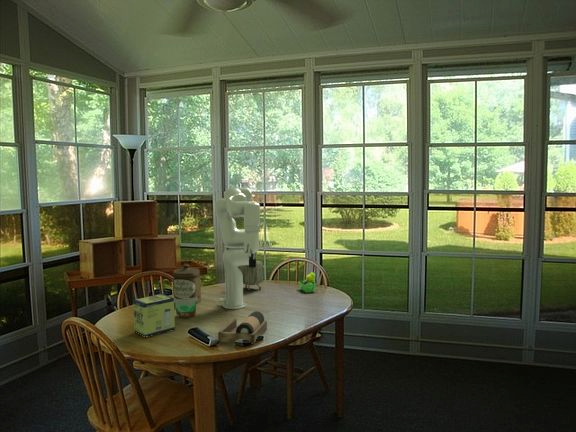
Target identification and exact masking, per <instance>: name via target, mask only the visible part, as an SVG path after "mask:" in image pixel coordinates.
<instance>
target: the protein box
mask: <svg viewBox="0 0 576 432" xmlns="http://www.w3.org/2000/svg"><path fill="white" fill-rule="evenodd" d="M132 306H133V307H132V308H133V310H132V311H133V328H134V331H135V332H137V333H139V334H141V335H143V336H145V337H146V336H151V335H155V334H158V333H162V334H164V333H163V332H166V333H168V332H167V331H170V330H173V331H176V327H175V326H176V322H175V321H176V320H175V303H174V297H173V296H172V297H171V296H169V295H167V294H163V293H160V294H156V295H151V296H150V295H149V296H146V297H141V298H136V299H132ZM170 332H171V331H170ZM158 335H159V334H158ZM155 336H156V335H155ZM151 337H152V336H151Z"/></svg>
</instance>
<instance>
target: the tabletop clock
mask: <svg viewBox="0 0 576 432" xmlns="http://www.w3.org/2000/svg"><path fill="white" fill-rule="evenodd" d="M238 268H239V270H240V271H241V272H242V275H243V285H244V287H245V288H246V289H247V291H250V290H251V288H250V286H255V285H256V286H257V287H258V290H261V289H262V287H261V286H260V285H259V284H261V283H264V278H265V277H264V276H265V268H264V264H263V262H262V261H260V260H257V259H256V267H255V268H253V267H249V265H243V266H238Z"/></svg>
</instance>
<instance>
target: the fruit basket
mask: <svg viewBox="0 0 576 432" xmlns="http://www.w3.org/2000/svg"><path fill="white" fill-rule="evenodd" d="M305 278H306V279H304V280H299V281H298V283H299V285H300V289H301V290H302V291H303V292H305V293H314V292H315V289H316V285H317V283H316V282H315V279H316V274H315V272H314V271H311V272H310V273H309V274H308V275H306V277H305Z"/></svg>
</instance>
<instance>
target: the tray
mask: <svg viewBox="0 0 576 432" xmlns="http://www.w3.org/2000/svg"><path fill="white" fill-rule="evenodd" d="M237 323H238V322H237V318H233V319H232V320H231V321H230V322H229V323H228V324H226V325H225V326H224V327H223V328H222V329H221V330H219V331H218V332H217V336H218V337H217V340H218V341H219V342H220V343H233V344H235V343H234V342H235V341H236V340H239V339H246V340H248V341H249V342H251V344H250V345H255V344H256V343H255V342H257V341H256V339H257V337H258V336H260V335H262V336H263V334H264V333H265V332H266V331H267V329H268V320H264V321H263V323H262V324H261V325H260V326H259V327H258V328H257V329H256V330H255V331H254V332H253V333H252V334H245V333H236V329H237V327H238V326H239V325H238V324H237ZM237 325H238V326H237ZM219 342H218V343H219Z"/></svg>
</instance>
